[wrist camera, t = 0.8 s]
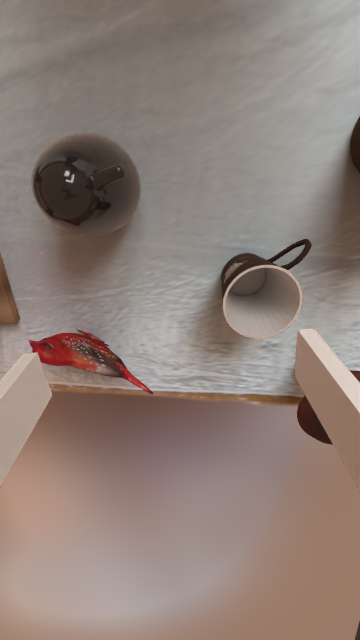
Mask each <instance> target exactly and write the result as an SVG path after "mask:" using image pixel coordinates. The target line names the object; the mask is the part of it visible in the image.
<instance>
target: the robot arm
mask: <svg viewBox="0 0 360 640" xmlns="http://www.w3.org/2000/svg"><path fill="white" fill-rule="evenodd" d="M295 378H296V379H297V381H298V383H299V385H300V387H301V388H302V390H303V392H304V394H305V395H306V397H307V399H308V401H309V403H310V404H311V406H312V408H313V410H314V411H315V413H316V415H317V417H318V419H319V420H320V422H321V424H322V426H323V428H324V429H325V431H326V433H327V435H328V436H329V438H330V440H331V442H332V444H333V445H334V447H335V449H336V451H337V452H338V454H339V456H340V458H341V460H342V461H343V463H344V465H345V467H346V468H347V470H348V472H349V474H350V475H351V477H352V479H353V481H354V483H355V484H356V486H357V488H358V490H359V492H360V381H358V380H357V379H356V378H355V377H354V375H353V374H352V373H351V372H350V371H349V370H348V368H347V367H346V366H345V365H344V364H343V362H342V361H341V360H340V359H339V358H338V357H337V355H336V354H335V353H334V352H333V351H332V350H331V348H330V347H329V346H328V345H327V344H326V343H325V341H324V340H323V339H322V338H321V337H320V335H319V334H318V333H317V332H316V331H315V330H314V328H313V329H301V330H298V333H297V347H296V362H295ZM51 397H52V393H51V390H50V387H49V384H48V381H47V378H46V376H45V373H44V370H43V367H42V364H41V361H40V358H39V355H38V352H37V353H25V354H22V355H21V357H20V358H19V359H18V360H17V361H16V362H15V364H14V365H13V366H12V367H11V368H10V369H9V370H8V372H7V373H6V374H5V375H4V376H3V377H2V379H1V380H0V486H1V485H2V483H3V481H4V479H5V477H6V476H7V474H8V472H9V471H10V469H11V467H12V465H13V464H14V462H15V460H16V458H17V457H18V455H19V453H20V451H21V450H22V448H23V446H24V444H25V443H26V441H27V439H28V437H29V435H30V434H31V432H32V430H33V429H34V427H35V424H36V423H37V421H38V420H39V418H40V416H41V414H42V413H43V411H44V409H45V407H46V406H47V404H48V402H49V400H50V399H51ZM355 640H360V622H359V626H358V630H357V633H356V637H355Z"/></svg>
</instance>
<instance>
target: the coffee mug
mask: <svg viewBox="0 0 360 640" xmlns="http://www.w3.org/2000/svg"><path fill="white" fill-rule="evenodd" d="M304 244H305V248H304V249H303V251H302V253H301V254H300V255H299V256H298V257H297V258H296V259H295V260H293V261H292V262H291V263H289V264H287V265H284V266H281V267H280V266H278V265H276V264H274V263H273V262H274V261H275V260H277V259H279V258H280V257H282V256H283V255H285V254H286V253H288V252H289V251H291V250H292V249H294V248H296V247H299V246H301V245H304ZM311 245H312V244H311V242H310V241H309V240H308V239H303V240H301V241H298V242H296V243H294V244H292V245H291V246H289V247H287V248H286V249H284V250H283V251H281V252H280V253H278V254H277V255H276V256H274V257H272V258H271V259H268V260H265V259H263V258H261V257H259V256H257V255H254V254H250V253H244V254H240V255H237V256H235V257H233V258H232V259H231V260H230V261H228V263H227V264H226V265H225V267H224V269H223V272H222V302H223V313H224V316H225V319H226V321H227V323H228V324H229V326H230V327H231V328H232V329H233V330H234V331H236V332H237V333H239V334H240V335H243V336H245V337H249V338H254V339H262V338H268V337H272V336H275V335H277V334H279V333H281V332H283V331H284V330H285V329H287V328H288V327H289V326H290V325H291V324H292V323H293V322H294V321H295V319H296V318H297V316H298V314H299V312H300V309H301V306H302V301H303V296H302V289H301V286H300V284H299V282H298V280H297V279H296V278H295V276H294V275H293V274H292V273H290V272H289V271H288V270H289V269H291V268H292V267H294V266H295V265H296V264H298V263H299V262H301V261H302V259H303V258H304V257H305V256H306V255H307V253H308V252H309V250H310V248H311Z"/></svg>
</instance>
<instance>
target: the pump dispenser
mask: <svg viewBox="0 0 360 640" xmlns="http://www.w3.org/2000/svg"><path fill="white" fill-rule="evenodd" d="M32 191H33V195H34V198H35V201H36V203H37V205H38V207H39V208H40V210H41V211H42V213H43V214H44V215H45V216H46V217H47V218H48V219H49V220H50V221H51V222H52V223H54V224H55V225H57V226H58V227H60V228H62V229H64V230H66V231H68V232H71V233H74V234H78V235H84V236H99V235H106V234H109V233H112V232H115V231H117V230H119V229H120V228H122V227H123V226H124V225H125V224H127V223H128V222H129V220H130V219H131V218H132V217H133V215H134V213H135V211H136V209H137V207H138V204H139V200H140V180H139V175H138V172H137V169H136V167H135V165H134V163H133V161H132V159H131V158H130V156H129V155H128V154H127V152H126V151H125V150H124V149H123V148H122V147H121V146H120V145H118V144H117V143H116V142H114V141H112V140H111V139H109V138H107V137H104V136H102V135H98V134H94V133H78V134H73V135H69V136H66V137H63V138H61V139H59V140H57V141H56V142H54V143H53V144H51V145H50V146H49V147H48V148H47V149H46V150H45V151H44V152H43V153H42V154H41V155H40V157H39V158H38V160H37V161H36V163H35V166H34V169H33V173H32Z"/></svg>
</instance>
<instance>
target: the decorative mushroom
mask: <svg viewBox="0 0 360 640" xmlns="http://www.w3.org/2000/svg"><path fill="white" fill-rule="evenodd" d="M349 371H350V372H351V373H352V374H353V375H354V377H355V378H356V379H357V380H358V381H360V371H352V370H349ZM297 418H298V422H299V424H300V426H301V428H302V429H303V430H304V431H305V432H306V433H307V434H308V435H310V436H312V437H313V438H315V439H317V440H319V441H321V442H323V443H327V444H332V442H331V440H330V438H329V436H328V435H327V433H326V431H325V429H324V428H323V426H322V424H321V422H320V420H319V419H318V417H317V415H316V413H315V411H314V410H313V408H312V406H311V404H310V403H309V401H308V399H307V397H306V395H305V396H304V397H303V399H302V400H301V402H300V404H299V406H298V411H297ZM332 445H333V444H332Z"/></svg>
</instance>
